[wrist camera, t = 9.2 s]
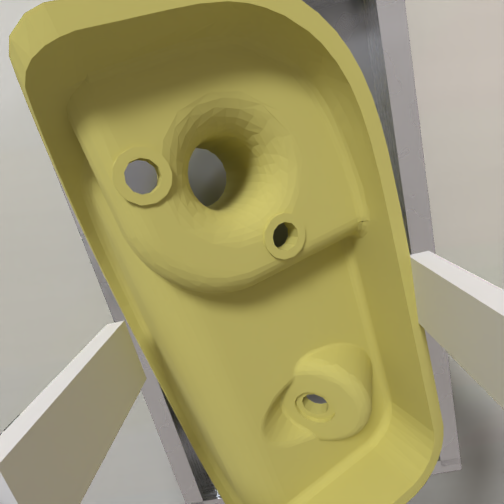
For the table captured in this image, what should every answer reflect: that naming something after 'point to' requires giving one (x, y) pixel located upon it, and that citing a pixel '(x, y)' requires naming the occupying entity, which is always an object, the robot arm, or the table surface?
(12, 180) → the table surface
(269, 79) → the plastic component
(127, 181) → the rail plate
